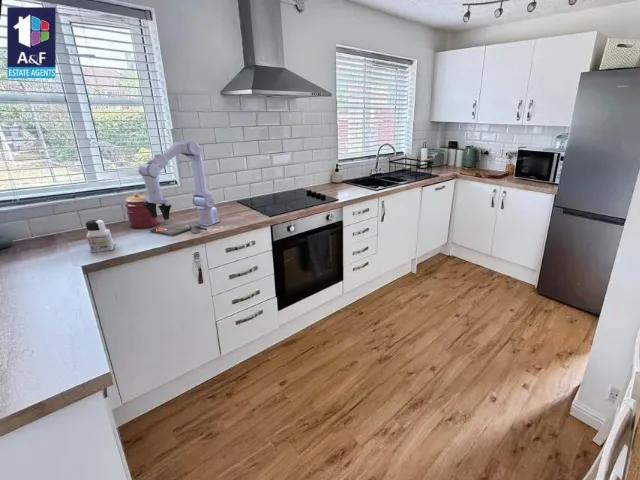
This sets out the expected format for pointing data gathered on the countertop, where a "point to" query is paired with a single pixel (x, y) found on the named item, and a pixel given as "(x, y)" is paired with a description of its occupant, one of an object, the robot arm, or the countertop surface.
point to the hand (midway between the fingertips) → (160, 218)
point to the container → (98, 236)
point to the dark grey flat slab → (170, 229)
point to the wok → (196, 227)
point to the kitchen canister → (139, 212)
